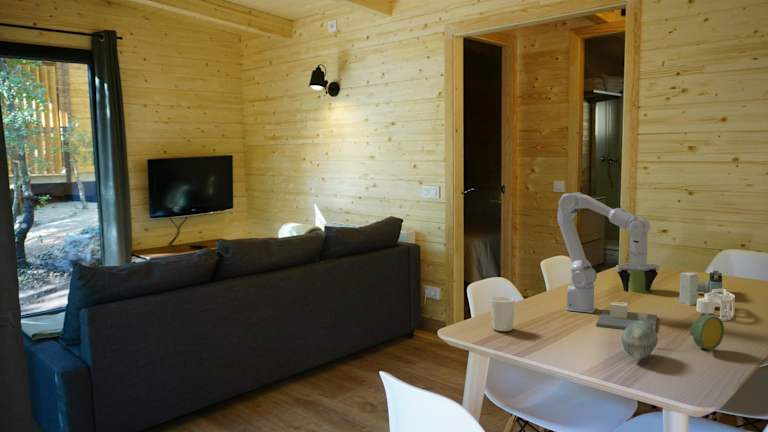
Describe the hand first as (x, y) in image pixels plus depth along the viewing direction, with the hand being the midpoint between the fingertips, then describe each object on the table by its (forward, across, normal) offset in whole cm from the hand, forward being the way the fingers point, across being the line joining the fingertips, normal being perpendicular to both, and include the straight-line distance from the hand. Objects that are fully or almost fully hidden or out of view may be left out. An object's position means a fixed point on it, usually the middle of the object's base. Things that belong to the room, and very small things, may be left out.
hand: (636, 291), depth 203 cm
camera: (+10, +44, +29) cm, 53 cm away
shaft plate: (+10, -5, -4) cm, 12 cm away
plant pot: (+10, +20, +38) cm, 44 cm away
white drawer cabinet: (+9, -6, 0) cm, 11 cm away
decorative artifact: (+10, +5, -31) cm, 33 cm away
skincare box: (+10, +29, +18) cm, 35 cm away
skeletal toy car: (+10, +32, +4) cm, 34 cm away
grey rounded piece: (+10, -16, -36) cm, 40 cm away
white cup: (+10, -49, -8) cm, 51 cm away
